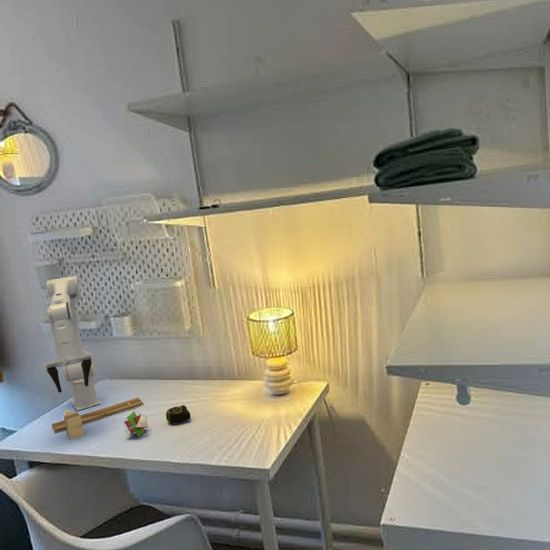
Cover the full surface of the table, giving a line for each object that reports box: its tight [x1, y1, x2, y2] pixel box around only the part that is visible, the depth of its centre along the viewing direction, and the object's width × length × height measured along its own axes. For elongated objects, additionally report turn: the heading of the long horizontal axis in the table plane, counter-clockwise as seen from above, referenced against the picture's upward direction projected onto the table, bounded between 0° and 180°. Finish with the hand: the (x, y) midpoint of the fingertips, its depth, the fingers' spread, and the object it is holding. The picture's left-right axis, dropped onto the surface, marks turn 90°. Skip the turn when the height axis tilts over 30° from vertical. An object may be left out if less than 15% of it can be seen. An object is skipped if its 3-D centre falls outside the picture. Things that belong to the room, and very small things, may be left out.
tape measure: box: [165, 404, 191, 425], centre depth 181 cm, size 7×7×4 cm
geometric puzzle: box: [123, 410, 149, 438], centre depth 175 cm, size 7×7×8 cm
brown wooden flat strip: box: [51, 397, 144, 434], centre depth 194 cm, size 6×28×1 cm, turn 119°
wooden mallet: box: [62, 409, 85, 440], centre depth 184 cm, size 13×4×6 cm, turn 29°
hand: (73, 389), depth 177 cm, fingers open, 7 cm apart
